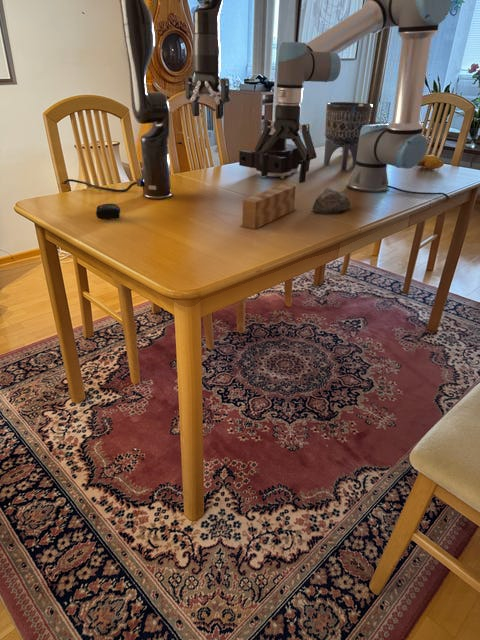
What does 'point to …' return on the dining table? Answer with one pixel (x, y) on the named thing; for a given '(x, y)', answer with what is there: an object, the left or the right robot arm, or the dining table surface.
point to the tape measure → (108, 211)
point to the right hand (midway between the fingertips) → (282, 179)
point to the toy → (430, 162)
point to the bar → (268, 205)
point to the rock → (331, 202)
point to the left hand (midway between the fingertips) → (207, 117)
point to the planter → (345, 128)
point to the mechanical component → (274, 158)
